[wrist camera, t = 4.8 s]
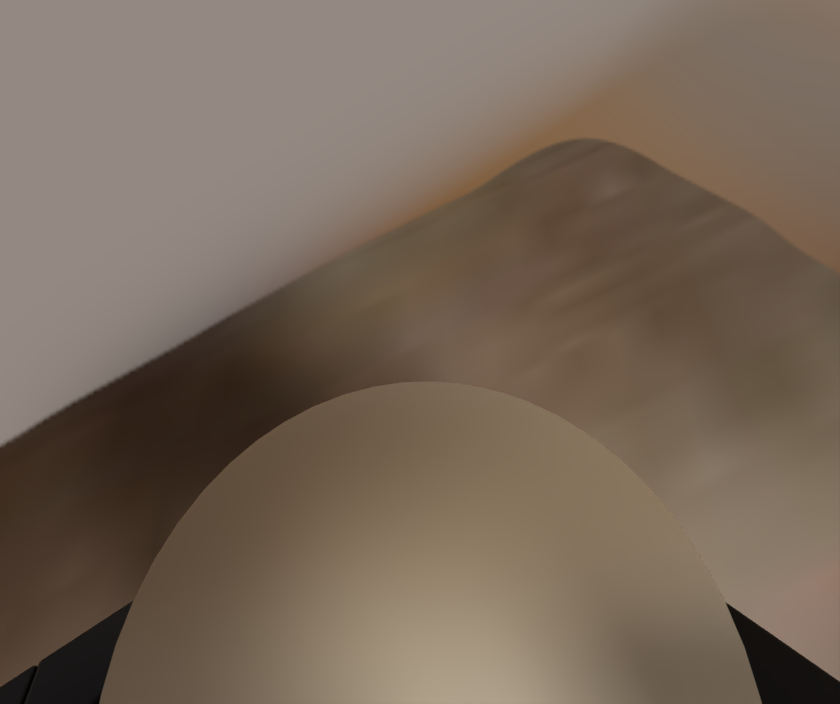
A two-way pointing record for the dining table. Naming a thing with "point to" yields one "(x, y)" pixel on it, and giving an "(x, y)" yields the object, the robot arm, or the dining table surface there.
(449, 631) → the maple peg
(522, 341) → the dining table surface
